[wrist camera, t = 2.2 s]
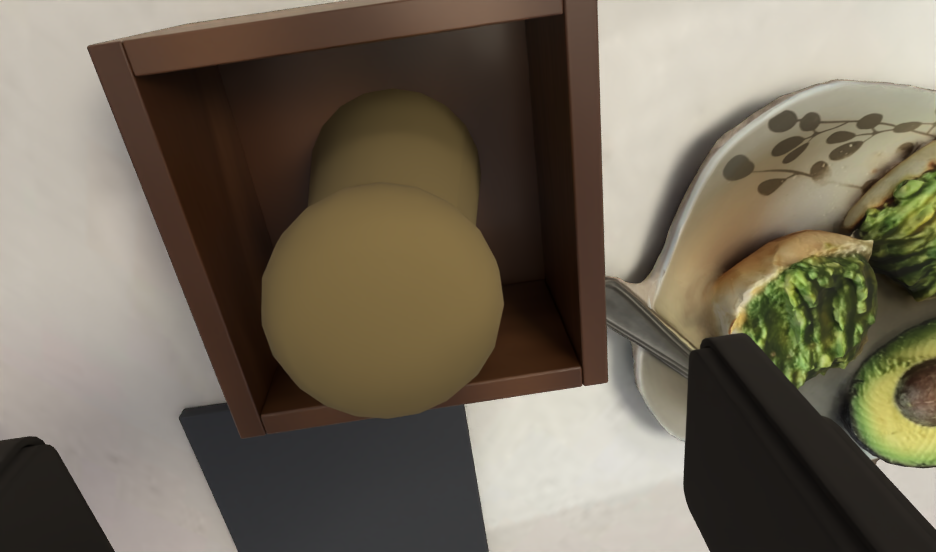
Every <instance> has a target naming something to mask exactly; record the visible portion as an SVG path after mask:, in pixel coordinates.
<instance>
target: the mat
mask: <svg viewBox="0 0 936 552" xmlns="http://www.w3.org/2000/svg"><path fill="white" fill-rule="evenodd" d="M179 420H180V422H181V424H182V426H183V429H184V431H185V433H186V435H187V438H188V440H189V442H190V444H191V447H192V449H193V451H194V453H195V456H196V458H197V460H198V462H199V464H200V467H201V469H202V471H203V473H204V476H205V478H206V480H207V482H208V485H209V487H210V489H211V491H212V494H213V496H214V498H215V500H216V503H217V505H218V507H219V509H220V512H221V514H222V516H223V518H224V520H225V523H226V525H227V527H228V529H229V532H230V534H231V536H232V538H233V541H234V543H235V545H236V547H237V550H238V552H489V551H488V545H487V539H486V533H485V527H484V521H483V515H482V509H481V503H480V497H479V491H478V485H477V479H476V473H475V467H474V461H473V455H472V449H471V443H470V437H469V431H468V425H467V419H466V413H465V407H464V404H463V405H457V406H450V407H444V408H437V409H431V410H426V411H424V412H421V413H419V414H414V415H408V416H402V417H396V418H390V419H383V418H372V419H365V420H359V421H352V422H346V423H339V424H333V425H326V426H320V427H313V428H306V429H300V430H293V431H287V432H280V433H274V434H267V433H266V435H264V436H257V437H250V438H244V439H241V437H240V435H239V432H238V430H237V427H236V425H235V422H234V420H233V417H232V415H231V412H230V409H229V407H228V404H227V403H223V404H217V405H210V406H204V407H197V408H191V409H184V410H183V411H182V413H181V415H180V417H179Z"/></svg>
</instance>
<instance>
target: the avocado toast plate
mask: <svg viewBox="0 0 936 552" xmlns="http://www.w3.org/2000/svg"><path fill="white" fill-rule="evenodd" d="M605 291H606V326H608V327H609V328H611V329H612V330H614V331H615V332H617V333H619V334H620V335H622V336H624V337H625V338H627V339H629V340H630V342H631V345H632V354H633V359H634V376H635V384H636V385H637V388H638V390H639V392H640V394H641V395H642V397H643V399H644V401H645V403H646V405H647V407H648V408H649V410H650V411H651V412H652V414H653V415H654V416H655V418H656V419H657V420H658V422H659V423H660V424H661V425H662V427H663V428H664V429H665V430H666V431H668V432H669V433H670V434H671V435H672V436H674V437H675V438H677V439H679V440H681V441H684V442H685V436H686V413H687V390H688V367H689V355H690V352H691V351H692V350H697V349H700V344H701V342H702V340H703V339H705V338H709V337H716V336H723V335H730V334H737V333H746V334H747V335H748V336H750V337H751V338H752V339H753V341H754V342H755V343H756V344H757V345H758V346H759V347H760V348H761V349H762V350H763V352H764V353H765V354H766V355H767V356H768V357H769V358H770V359H771V360H772V362H773V363H774V364H775V365H776V366H777V367H778V368H779V369H780V370H781V372H782V373H783V374H784V375H785V376H786V377H787V378H788V379H789V380H790V381H791V383H792V384H793V385H794V386H795V387H796V388H797V389H798V390H799V391H800V393H801V394H802V395H803V396H804V397H805V398H806V399H807V400H808V401H809V403H810V404H811V405H812V406H813V407H814V408H815V409H816V410H817V411H818V412H819V414H820V415H821V416H825V417H828V418H830V419H832V420H833V421H834V422H835V423H837V424H838V425H839V426H840V427H841V428H842V429H843V430H844V431H845V432H846V433H847V434H848V435H849V436H850V438H851V439H852V440H853V441H854V442H855V443H856V444H857V445H858V446H859V447H860V448H861V449H862V451H863V452H864V453H865V454H866V455H867V456H868V457H869V458H870V459H871V460H872V461H873V462H874V464H875V465H876V462H877V461H878V460H879V459H881V460H883V461H885V462H886V463H890V464H894V465H899V466H904V467H915V468H931V467H936V90H929V89H923V88H919V87H915V86H911V85H902V84H894V83H887V82H866V81H854V80H838V79H837V80H831V81H828V82H825V83H821V84H815V85H812V86H810V87H807V88H804V89H802V90H799V91H796V92H794V93H790V94H787V95H783V96H780V97H779V98H777V99H775V100H774V101H772V102H771V103H769V104H768V105H766V106H765V107H763V108H761V109H760V110H758V111H756V112H754V113H753V114H752V115H750V116H749V117H748V118H746V119H745V120H744V121H742V122H741V123H740V124H738V125H737V126H736V127H734V128H733V129H731V130H729V131H727V132H726V133H724V134H723V135H722V136H721V137H720V138H719V139H718V140H717V141H716V143H715V144H714V146H713V147H712V149H711V150H710V152H709V153H708V155H707V156H706V158H705V159H704V161H703V163H702V164H701V166H700V168H699V170H698V172H697V174H696V176H695V177H694V179H693V181H692V182H691V184H690V186H689V187H688V190H687V192H686V194H685V196H684V198H683V200H682V202H681V204H680V206H679V208H678V211H677V213H676V215H675V217H674V219H673V221H672V224H671V226H670V229H669V232H668V235H667V238H666V241H665V245H664V247H663V249H662V251H661V253H660V255H659V257H658V259H657V260H656V263H655V265H654V267H653V270H652V271H651V272H650V273H649V275H648V276H647V277H646V279H645V280H644V281H642V282H641V283H637V284H634V283H628V282H625V281H623V280H622V279H620V278H618V277H610V276H605Z"/></svg>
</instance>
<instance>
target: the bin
mask: <svg viewBox="0 0 936 552" xmlns="http://www.w3.org/2000/svg"><path fill="white" fill-rule="evenodd" d="M87 49H88V51H89V54H90V57H91V59H92V62H93V64H94V67H95V69H96V72H97V74H98V77H99V79H100V82H101V85H102V87H103V90H104V92H105V95H106V97H107V100H108V102H109V105H110V107H111V110H112V112H113V115H114V118H115V120H116V123H117V125H118V128H119V130H120V133H121V135H122V138H123V140H124V143H125V145H126V148H127V151H128V153H129V156H130V158H131V161H132V163H133V166H134V168H135V171H136V173H137V176H138V178H139V181H140V184H141V186H142V189H143V191H144V194H145V196H146V199H147V201H148V204H149V206H150V209H151V211H152V214H153V217H154V219H155V222H156V224H157V227H158V229H159V232H160V234H161V237H162V239H163V242H164V244H165V247H166V250H167V252H168V255H169V257H170V260H171V262H172V265H173V267H174V270H175V272H176V275H177V277H178V280H179V283H180V285H181V288H182V290H183V293H184V295H185V298H186V300H187V303H188V305H189V308H190V310H191V313H192V316H193V318H194V321H195V323H196V326H197V328H198V331H199V333H200V336H201V338H202V341H203V343H204V346H205V349H206V351H207V354H208V356H209V359H210V361H211V364H212V366H213V369H214V371H215V374H216V376H217V379H218V382H219V384H220V387H221V389H222V392H223V394H224V397H225V399H226V402H227V404H228V407H229V409H230V412H231V415H232V417H233V420H234V422H235V425H236V427H237V430H238V432H239V435H240V437H241V439H244V438H250V437H257V436H264V435H266V433H267V434H274V433H280V432H287V431H293V430H300V429H306V428H313V427H320V426H326V425H333V424H339V423H346V422H352V421H359V420H365V419H372V418H370V417H358V416H353V415H350V414H348V413H345V412H342V411H339V410H336V409H333V408H330V407H327V406H325V405H323V404H322V403H321V402H319V401H318V400H316V399H315V398H313V397H312V396H310V395H309V394H307V393H306V392H304V391H303V390H301V389H300V388H299V387H298V386H297V385H296V384H295V382H294V381H293V380H292V379H291V378H290V376H289V375H288V374H287V373H286V371H285V370H284V369H283V368H282V366H281V365H280V364H279V363H278V361H277V360H276V359H275V358H274V356H273V354H272V352H271V349H270V346H269V343H268V341H267V338H266V335H265V332H264V329H263V327H262V315H261V305H262V277H263V274H264V272H265V269H266V267H267V265H268V262H269V260H270V257H271V255H272V252H273V250H274V248H275V245H276V243H277V242H278V240H279V238H280V236H281V235H282V233H283V232H284V231H285V230H286V229H287V228H288V227H289V226H290V225H291V224H292V223H293V222H294V221H295V220H296V219H297V217H298V216H299V215H300V214H301V213H302V212H303V211H304V210H305V209H306V208H307V207H308V196H309V184H310V172H311V159H312V150H313V148H314V145H315V143H316V141H317V138H318V136H319V133H320V131H321V128H322V126H323V125H324V124H325V123H326V122H327V121H328V120H329V119H330V117H331V116H332V115H333V114H334V113H335V112H336V111H337V110H338V109H339V107H340V106H342V105H344V104H346V103H348V102H349V101H351V100H353V99H355V98H357V97H359V96H360V95H362V94H364V93H368V92H374V91H380V90H386V89H392V88H394V89H400V90H406V91H413V92H419V93H422V94H424V95H426V96H428V97H430V98H432V99H434V100H436V101H438V102H440V103H442V104H444V105H446V106H447V107H448V108H449V109H450V110H451V111H452V112H453V113H454V114H455V115H456V116H457V117H458V118H459V119H460V120H461V121H462V122H463V123H464V124H465V125H466V127H467V129H468V131H469V133H470V135H471V137H472V139H473V141H474V143H475V145H476V147H477V149H478V156H479V162H480V169H481V182H480V191H479V201H478V210H477V220H476V227H477V228H478V229H479V230H480V231H481V233H482V235H483V237H484V239H485V241H486V242H487V244H488V246H489V248H490V250H491V252H492V254H493V256H494V257H495V259H496V262H497V265H498V268H499V272H500V279H501V286H502V293H503V300H504V307H503V312H502V316H501V321H500V325H499V330H498V334H497V339H496V344H495V348H494V349H493V351H492V353H491V354H490V356H489V358H488V359H487V361H486V362H485V364H484V366H483V367H482V369H481V370H480V372H479V374H478V375H477V376H476V377H474V378H473V379H472V380H471V381H470V382H469V383H467V384H466V385H465V386H464V387H463V388H462V389H460V390H459V391H458V392H457V393H456V394H454V395H453V396H452V397H451V398H450V399H449V400H447V401H446V402H443V403H441V404H439V405H437V406H435V407H432V408H430V409H428V410H431V409H437V408H444V407H450V406H457V405H463V404H470V403H476V402H483V401H489V400H496V399H503V398H509V397H516V396H522V395H529V394H535V393H542V392H548V391H555V390H561V389H568V388H574V387H580V386H582V384H583V385H584V386H589V385H595V384H602V383H607V382H608V361H607V326H606V291H605V256H604V221H603V186H602V150H601V115H600V80H599V45H598V10H597V0H347V1H340V2H333V3H326V4H319V5H312V6H306V7H299V8H292V9H285V10H278V11H271V12H264V13H257V14H251V15H244V16H237V17H230V18H223V19H216V20H209V21H203V22H196V23H189V24H184V25H179V26H175V27H170V28H165V29H161V30H156V31H152V32H147V33H143V34H138V35H134V36H129V37H125V38H120V39H116V40H111V41H106V42H102V43H97V44H93V45H89V46H88V47H87Z"/></svg>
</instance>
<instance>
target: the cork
mask: <svg viewBox="0 0 936 552" xmlns="http://www.w3.org/2000/svg"><path fill="white" fill-rule="evenodd" d="M480 182H481V169H480V162H479V156H478V149H477V147H476V145H475V143H474V141H473V139H472V137H471V135H470V133H469V131H468V129H467V127H466V125H465V124H464V123H463V122H462V121H461V120H460V119H459V118H458V117H457V116H456V115H455V114H454V113H453V112H452V111H451V110H450V109H449V108H448V107H447V106H446V105H444V104H442V103H440V102H438V101H436V100H434V99H432V98H430V97H428V96H426V95H424V94H422V93H419V92H413V91H406V90H400V89H394V88H392V89H386V90H380V91H374V92H368V93H364V94H362V95H360V96H359V97H357V98H355V99H353V100H351V101H349V102H348V103H346V104H344V105H342V106H340V107H339V109H338V110H337V111H336V112H335V113H334V114H333V115H332V116H331V117H330V119H329V120H328V121H327V122H326V123H325V124H324V125H323V126H322V128H321V131H320V133H319V136H318V138H317V141H316V143H315V145H314V148H313V150H312V159H311V172H310V184H309V196H308V207H307V208H306V209H305V210H304V211H303V212H302V213H301V214H300V215H299V216H298V217H297V219H296V220H295V221H294V222H293V223H292V224H291V225H290V226H289V227H288V228H287V229H286V230H285V231H284V232H283V233H282V235H281V236H280V238H279V240H278V242H277V243H276V245H275V248H274V250H273V252H272V255H271V257H270V260H269V262H268V265H267V267H266V269H265V272H264V274H263V277H262V305H261V315H262V327H263V329H264V332H265V335H266V338H267V341H268V343H269V346H270V349H271V352H272V354H273V356H274V358H275V359H276V360H277V361H278V363H279V364H280V365H281V366H282V368H283V369H284V370H285V371H286V373H287V374H288V375H289V376H290V378H291V379H292V380H293V381H294V382H295V384H296V385H297V386H298V387H299V388H300V389H301V390H303V391H304V392H306V393H307V394H309V395H310V396H312V397H313V398H315V399H316V400H318V401H319V402H321V403H322V404H323V405H325V406H327V407H330V408H333V409H336V410H339V411H342V412H345V413H348V414H350V415H353V416H358V417H370V418H383V419H390V418H396V417H402V416H408V415H414V414H419V413H421V412H424V411H426V410H428V409H430V408H432V407H435V406H437V405H439V404H441V403H443V402H446V401H447V400H449V399H450V398H451V397H452V396H453V395H454V394H456V393H457V392H458V391H459V390H460V389H462V388H463V387H464V386H465V385H466V384H467V383H469V382H470V381H471V380H472V379H473V378H474V377H476V376H477V375H478V374H479V372H480V370H481V369H482V367H483V366H484V364H485V362H486V361H487V359H488V358H489V356H490V354H491V353H492V351H493V349H494V348H495V344H496V339H497V334H498V330H499V325H500V321H501V316H502V312H503V307H504V300H503V293H502V286H501V279H500V272H499V268H498V265H497V262H496V259H495V257H494V256H493V254H492V252H491V250H490V248H489V246H488V244H487V242H486V241H485V239H484V237H483V235H482V233H481V231H480V230H479V229H478V228H477V227H476V220H477V210H478V201H479V191H480Z"/></svg>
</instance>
